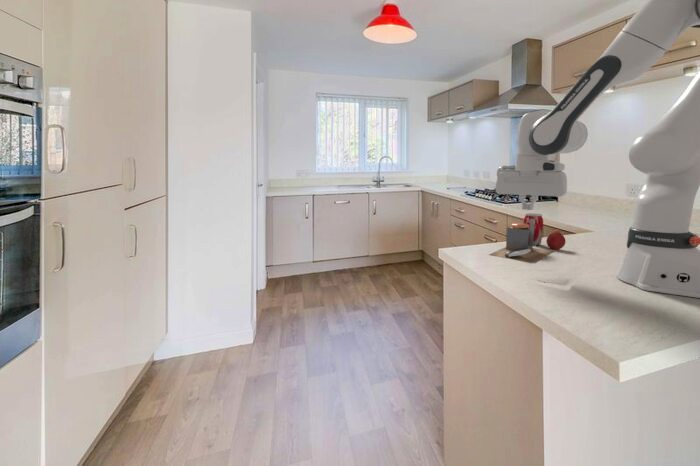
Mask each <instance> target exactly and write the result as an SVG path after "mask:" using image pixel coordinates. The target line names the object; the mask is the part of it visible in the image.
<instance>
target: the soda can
mask: <svg viewBox="0 0 700 466" xmlns="http://www.w3.org/2000/svg"><path fill="white" fill-rule="evenodd" d="M522 223H524V224H529V227H531V228H534V238H533V245H537V246H540V245H541V244H542V239H543V228H544V217H543V214H541V213H531V212H530V213H525V215H524V217H523V219H522Z"/></svg>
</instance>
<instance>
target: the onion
mask: <svg viewBox="0 0 700 466" xmlns="http://www.w3.org/2000/svg"><path fill="white" fill-rule="evenodd" d="M546 245H547V247H549V249H551V250H555V251H556V250H561V249H562V248H563V247H565V245H566V238H565V237H564V235H563V234H562V233H561V232H560V229H556V230H555V231H553V232H552V233H550V234H549V235H548V236H547V238H546Z"/></svg>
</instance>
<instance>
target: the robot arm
mask: <svg viewBox="0 0 700 466" xmlns="http://www.w3.org/2000/svg"><path fill="white" fill-rule="evenodd" d="M690 28H695V29H697V28H698V29H700V0H647V1H646V2H644V4H643V5H642V6H641V7H640V8H639V9H638V10H637V11H636V12H635V13H634V15H633V16H632V17H631V18H630V19H629V20H628V21H627V23H626V24H625V25H624V26H623V28H622V29H621V31H620V32H619V33H618V34H617V35H616V37H615V38H614V39H613V40H612V42H611V43H610V44H609V46H608V47H607V48H606V49H605V50H604V52H603V53H602V54H601V56H600V57H599V58H597V60H596V61H595V62H594V63H592V65H590V67H589V68H588V69H587V70H586V71H585V72H584V73H583V75H581V77H580V78H579V79H578V80H577V82H575V84H574V85H572V87H571V88H570V90H568V91H567V93H565V96H563V97H562V99H561V100H560V101H559V102H558V103H557V105H556V106H554V108H552V109H551V110H549V109H546V108H544V109H543V108H542V109H540V108H539V109H536V110H532V111H529V112H527V113H525V114H524V115H522V117H521V118H520V121H519V124H518V131H517V140H516V142H517V143H516V144H517V152H516V155H515V156H516V157H515V165H501V166H500V167H499V168H498V169H497V171H496V177H497V178H496V183H495V192H496V194H498V195H514V196H515V195H516V196H517V195H518V200H519V201H520V203H521V209H522V210H527V211H528V210H529V211H530V210H531V211H532V210H534V207H535V204H536V202H537V201H538V199H539V196H540V197H541V196H542V197H559V198H560V197H564V196H565V195H566V194H567V191H568V180H567V179H568V178H567V174H566V173H565V172H564V170H565V168H566V165H565V164H564V163H562V162H559V161H555V160H551V159H549V155H555V154H557V155H558V154H570V153H573V152H575V151H578V150H579V149H581V148H582V147H583V146H584V145H585V143H586V141H587V138H588V133H589V132H588V128H587V126H586V125H585V124H584V123H583V122H581V121H579V119H580V118H581V117H582V115H583V114H584V113H585V112H587V110H588V109H589V108H590V107H591V105H592V104H594V102H595V101H596V100H597V99H598V98H599V97H600V96H602V94H604V93H605V92H607V91H608V90H610V89H611V88H614V87H615V86H618V85H620V84H623V83H626V82H630V81H633V80H636V79H638V78H640V77H642V76H643V75H644V74H646V72H647V71H649V70H650V69H651V68H652V67H653V66H655V64H657V62H658V61H660V59H661V58H662V57H663V56H664V55H665V53H667V51H668V50H669V49H670V47H671V46H672V45H673V44H674V43H675V42H676V40H677V39H679V37H680V36H682V35H683V34H684V33H685V32H686V31H687V30H689V29H690ZM628 158H629V162H630V164H631V165H632V167H633V168H635V170H638V171H639V172H641V173H643V174H645V175H646V176H645V179H644V181H643V184H642V187H641V189H640V191H639V193H638V194H637V195H636V197H635V201H634V208H633V215H632V221H631V222H632V223H631V226H630V227H629V228H628V229H629V230H628V231H627V236H626V237H627V238H626V247H627V249H626V253H625V256H624V259H623V263H622V265H621V267H620V268H619V271H618V273H617V275H616V278H617V279H619V280H621V281H622V282H625V283H627V284H630V285H632V286H636V287H637V288H639V289H641V290H644V291H648V292H649V291H650V292H653V293H654V292H655V293H662V294H668V295H676V296H683V297H691V298H697V299H698V298H699V299H700V249H699V248H697V247H698V246H699V245H700V236H698V235H697V234H695V233H693V232H691V231H690V224H691V219H692V213H693V207H694V205H695V204H694V203H695V199H696V196H697V193H698V191H699V188H700V68H699V69H698V70H697V72H696V73H695V75H694V76H693V77H692V79H691V81H690V82H689V83H688V84H687V86H686V87H685V88H684V90H683V91H682V93H681V94H680V96H679V97H678V98H677V99H676V100H675V101H674V102H673V104H672V105H671V106H670V107H669V108H668V109H666V111H665V112H664V113H663V114H662V115H661V116H660V117H659V118H658V119H657V120H656V122H654V124H653V125H651V127H650V128H649V129H648V130H647V131H646V132H645V133H644V134H642V135H641V136H640V137H638V138H637V139H636V140H635V141H634V142H633V143H632V145H631V146H630V148H629V152H628ZM527 196H531V197H530V199H531V202H529V203H527V202H526V200H525V199H526V198H527Z"/></svg>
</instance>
